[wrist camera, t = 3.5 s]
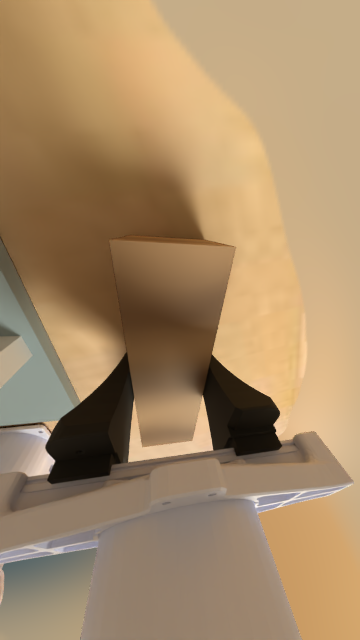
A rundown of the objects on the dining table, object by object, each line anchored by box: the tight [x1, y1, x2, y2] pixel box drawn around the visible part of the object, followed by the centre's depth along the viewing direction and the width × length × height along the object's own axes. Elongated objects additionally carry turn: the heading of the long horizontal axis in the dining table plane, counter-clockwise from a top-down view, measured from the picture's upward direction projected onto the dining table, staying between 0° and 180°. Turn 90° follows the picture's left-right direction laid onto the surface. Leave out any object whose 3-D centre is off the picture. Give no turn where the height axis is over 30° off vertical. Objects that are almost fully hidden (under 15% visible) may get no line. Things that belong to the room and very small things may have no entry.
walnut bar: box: [109, 235, 236, 447], centre depth 13 cm, size 18×5×5 cm, turn 177°
